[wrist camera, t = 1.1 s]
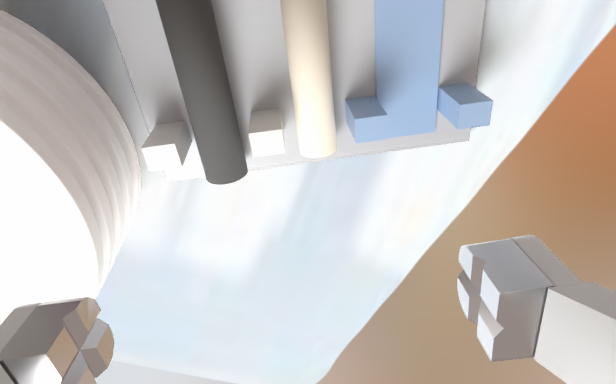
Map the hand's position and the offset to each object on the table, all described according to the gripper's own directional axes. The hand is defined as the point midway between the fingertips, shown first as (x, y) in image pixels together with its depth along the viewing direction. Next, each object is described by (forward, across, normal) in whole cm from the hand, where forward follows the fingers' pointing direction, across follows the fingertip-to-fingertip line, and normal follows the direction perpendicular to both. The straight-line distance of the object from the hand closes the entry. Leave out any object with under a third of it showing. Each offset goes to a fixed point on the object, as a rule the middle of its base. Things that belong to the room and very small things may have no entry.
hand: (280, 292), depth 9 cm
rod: (+26, -2, 0) cm, 26 cm away
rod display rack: (+27, -2, -1) cm, 27 cm away
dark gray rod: (+26, +6, -1) cm, 26 cm away
